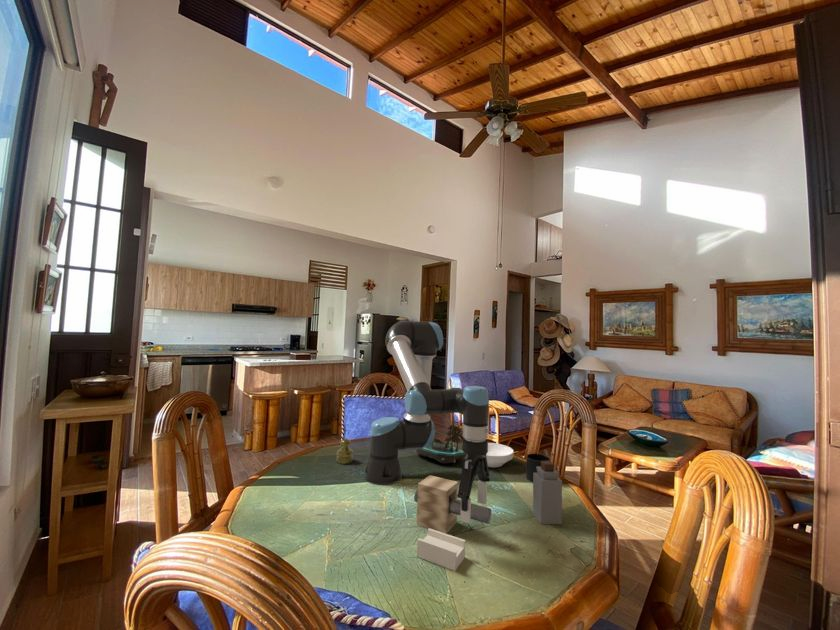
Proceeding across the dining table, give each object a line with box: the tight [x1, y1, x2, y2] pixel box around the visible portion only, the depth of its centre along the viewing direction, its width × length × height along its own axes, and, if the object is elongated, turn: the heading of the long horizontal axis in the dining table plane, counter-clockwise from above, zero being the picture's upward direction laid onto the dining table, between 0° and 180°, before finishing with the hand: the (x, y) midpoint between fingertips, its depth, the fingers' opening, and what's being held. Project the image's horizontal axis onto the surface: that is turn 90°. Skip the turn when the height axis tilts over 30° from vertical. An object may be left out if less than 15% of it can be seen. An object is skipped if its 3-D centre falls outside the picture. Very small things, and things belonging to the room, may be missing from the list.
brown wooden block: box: [416, 474, 459, 534], centre depth 112 cm, size 10×8×12 cm
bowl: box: [486, 442, 515, 468], centre depth 166 cm, size 20×20×7 cm
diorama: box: [414, 422, 467, 465], centre depth 173 cm, size 19×25×19 cm
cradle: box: [416, 528, 466, 572], centre depth 95 cm, size 11×7×4 cm, turn 61°
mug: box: [525, 453, 551, 483], centre depth 149 cm, size 9×12×9 cm
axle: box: [413, 488, 492, 525], centre depth 110 cm, size 24×4×4 cm, turn 61°
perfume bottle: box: [532, 460, 563, 525], centre depth 118 cm, size 7×7×18 cm
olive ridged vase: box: [336, 438, 354, 465], centre depth 164 cm, size 7×7×10 cm
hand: (474, 512), depth 106 cm, fingers open, 13 cm apart
